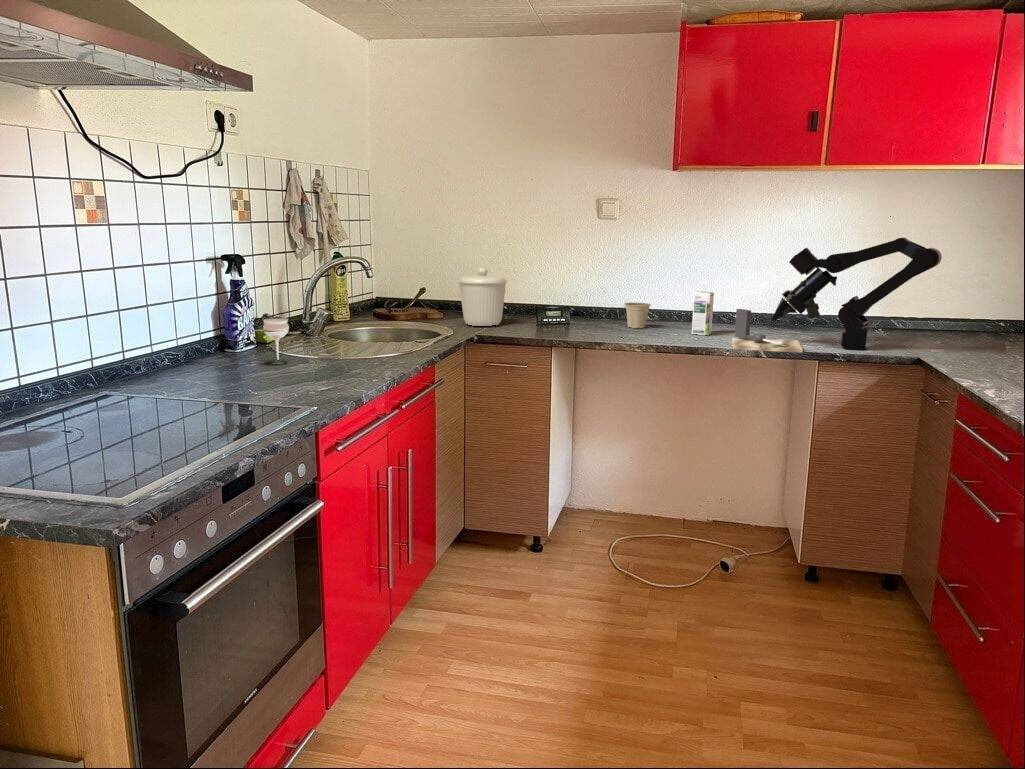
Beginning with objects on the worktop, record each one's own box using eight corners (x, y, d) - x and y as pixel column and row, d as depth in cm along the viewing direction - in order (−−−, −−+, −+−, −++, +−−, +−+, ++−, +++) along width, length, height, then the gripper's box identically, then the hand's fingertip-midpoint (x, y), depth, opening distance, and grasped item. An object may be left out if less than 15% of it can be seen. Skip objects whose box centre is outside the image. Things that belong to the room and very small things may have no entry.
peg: (740, 336, 251) (742, 308, 249) (786, 345, 233) (789, 316, 231) (732, 336, 250) (734, 309, 248) (777, 346, 232) (780, 316, 230)
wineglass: (285, 366, 207) (282, 321, 204) (261, 365, 208) (258, 321, 205) (295, 361, 214) (292, 318, 211) (271, 360, 214) (269, 317, 212)
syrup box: (690, 334, 263) (693, 292, 259) (695, 332, 268) (697, 290, 265) (707, 336, 260) (710, 293, 257) (711, 333, 265) (714, 291, 262)
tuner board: (797, 343, 246) (797, 339, 246) (802, 352, 230) (802, 348, 230) (732, 340, 251) (732, 336, 251) (733, 349, 235) (733, 345, 235)
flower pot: (650, 326, 282) (651, 302, 280) (649, 330, 273) (650, 305, 271) (624, 325, 284) (625, 302, 282) (622, 329, 275) (623, 305, 273)
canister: (515, 323, 287) (515, 266, 282) (494, 330, 271) (494, 269, 266) (472, 320, 294) (471, 265, 289) (449, 327, 278) (448, 268, 273)
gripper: (834, 307, 231) (793, 342, 236) (825, 301, 249) (787, 334, 254) (808, 280, 232) (767, 316, 237) (801, 276, 249) (764, 309, 254)
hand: (772, 320), depth 245 cm, fingers closed
